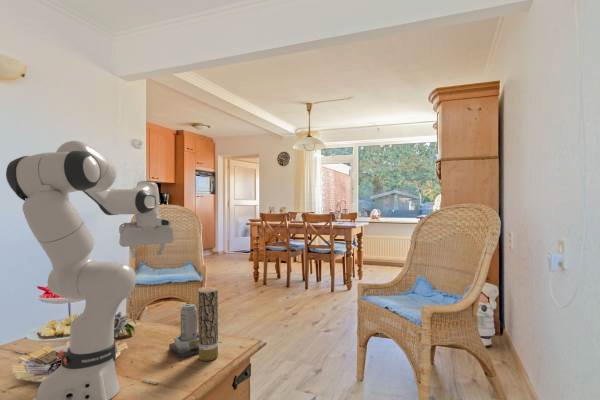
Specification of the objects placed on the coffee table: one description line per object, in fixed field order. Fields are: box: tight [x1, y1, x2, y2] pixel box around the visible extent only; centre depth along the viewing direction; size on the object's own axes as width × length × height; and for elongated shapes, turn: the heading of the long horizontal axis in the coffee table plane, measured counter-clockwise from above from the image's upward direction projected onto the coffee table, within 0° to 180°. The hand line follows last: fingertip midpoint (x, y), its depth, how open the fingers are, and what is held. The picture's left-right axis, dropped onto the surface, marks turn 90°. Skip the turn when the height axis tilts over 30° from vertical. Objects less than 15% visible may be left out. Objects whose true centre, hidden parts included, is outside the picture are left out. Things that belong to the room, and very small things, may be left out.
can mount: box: [168, 331, 199, 360], centre depth 131 cm, size 11×11×5 cm
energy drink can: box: [180, 302, 198, 341], centre depth 132 cm, size 6×6×15 cm
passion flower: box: [114, 311, 137, 339], centre depth 146 cm, size 11×11×12 cm
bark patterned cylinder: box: [198, 286, 219, 362], centre depth 125 cm, size 7×7×25 cm
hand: (147, 256), depth 138 cm, fingers open, 8 cm apart
